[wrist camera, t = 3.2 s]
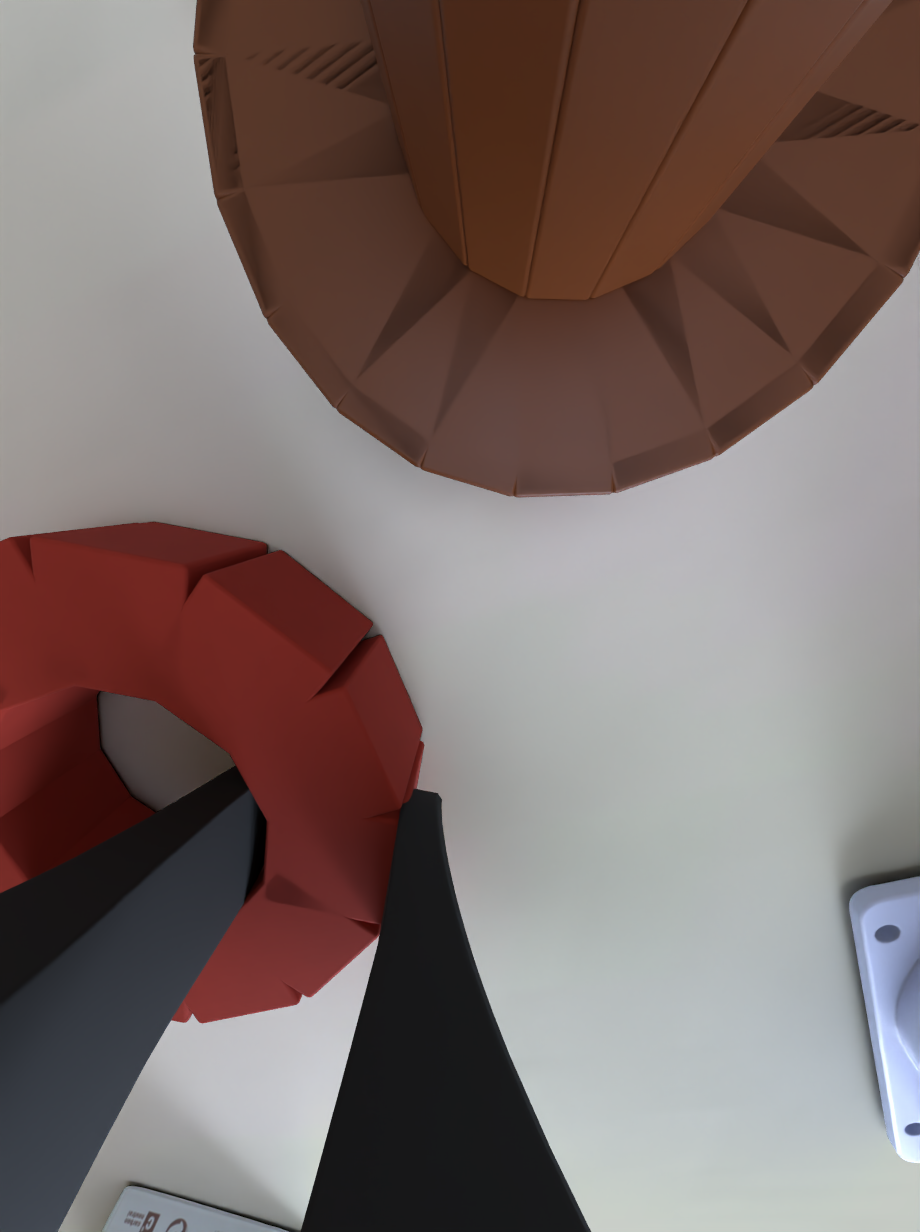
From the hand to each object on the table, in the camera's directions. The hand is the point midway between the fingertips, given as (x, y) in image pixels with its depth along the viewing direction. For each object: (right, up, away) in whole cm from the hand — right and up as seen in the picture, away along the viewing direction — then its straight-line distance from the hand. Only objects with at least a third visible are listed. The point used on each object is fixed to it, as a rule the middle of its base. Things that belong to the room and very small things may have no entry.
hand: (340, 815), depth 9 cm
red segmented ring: (-4, +1, +1) cm, 4 cm away
